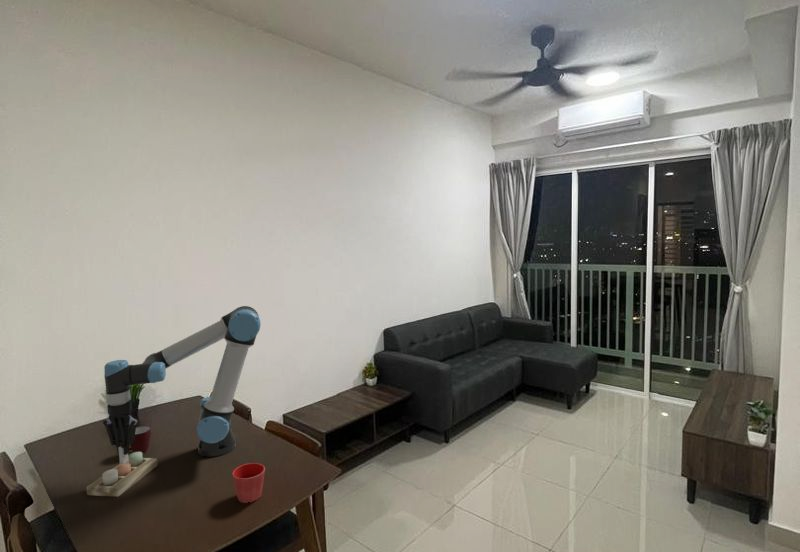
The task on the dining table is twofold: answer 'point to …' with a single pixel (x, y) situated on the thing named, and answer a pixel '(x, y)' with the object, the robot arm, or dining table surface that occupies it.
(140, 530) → the dining table surface
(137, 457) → the button sage
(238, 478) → the flower pot
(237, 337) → the robot arm
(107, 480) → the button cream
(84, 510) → the dining table surface
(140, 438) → the mug
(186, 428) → the dining table surface
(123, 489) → the button board
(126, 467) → the button terracotta
